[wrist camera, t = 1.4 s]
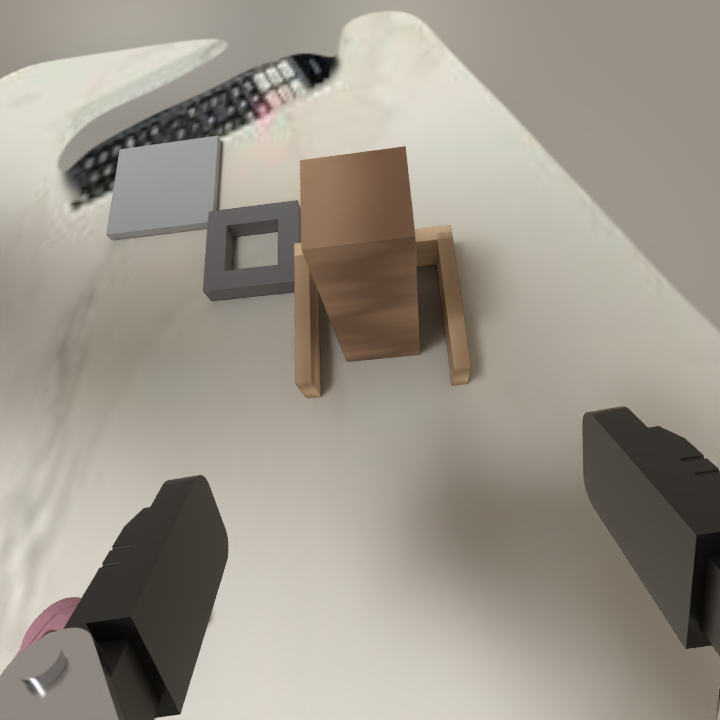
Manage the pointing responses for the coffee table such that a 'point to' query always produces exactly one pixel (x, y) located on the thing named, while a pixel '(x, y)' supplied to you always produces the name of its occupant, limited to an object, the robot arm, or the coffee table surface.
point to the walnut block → (363, 250)
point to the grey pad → (165, 188)
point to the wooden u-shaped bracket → (430, 250)
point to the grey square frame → (241, 223)
